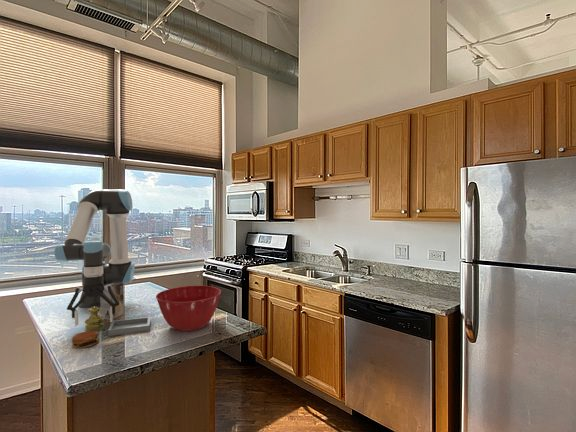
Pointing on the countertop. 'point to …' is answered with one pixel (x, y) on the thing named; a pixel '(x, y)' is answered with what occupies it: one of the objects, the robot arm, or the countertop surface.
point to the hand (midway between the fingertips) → (94, 323)
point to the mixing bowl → (188, 306)
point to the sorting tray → (129, 326)
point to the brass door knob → (94, 320)
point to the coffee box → (119, 293)
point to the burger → (85, 339)
